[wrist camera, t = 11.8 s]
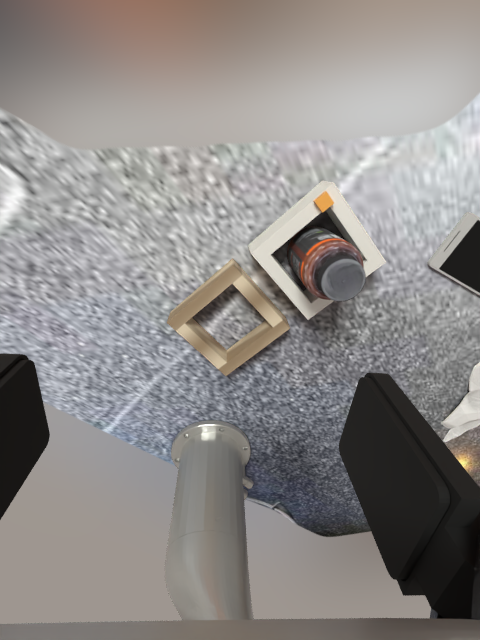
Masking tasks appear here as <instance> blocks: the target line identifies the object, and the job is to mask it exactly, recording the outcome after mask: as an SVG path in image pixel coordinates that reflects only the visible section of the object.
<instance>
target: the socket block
mask: <svg viewBox="0 0 480 640" xmlns="http://www.w3.org/2000/svg"><path fill="white" fill-rule="evenodd" d="M324 211H326V212H327V214H328V215H329V217H330V218H331V220H332V221H333V222H334V224H335V225H336V227H337V228H338V230H339V231H340V232H341V234H342V235H343V237H344V238H345V240H346V241H347V242H349V243H350V244H352V245H353V246H354V247H355V248H356V249H357V250H358V251H359V252H360V254H361V256H362V259H363V264H364V271H365V274H366V277H367V276H368V275H369V274H371V273H372V272H374V271H375V270H376V269H378V268H379V267H380V266H382V265H383V264H384V263H386V261H385V259H384V258H383V256H382V255H381V253H380V252H379V250H378V249H377V247H376V246H375V244H374V243H373V241H372V240H371V238H370V237H369V235H368V234H367V232H366V231H365V229H364V228H363V226H362V225H361V223H360V222H359V220H358V219H357V217H356V215H355V214H354V212H353V211H352V209H351V208H350V206H349V205H348V203H347V202H346V200H345V199H344V197H343V196H342V194H341V193H340V191H339V190H338V188H337V187H336V185H335V184H334V183H333V182H327V181H321V182H320V183H319V184H318V185H317V186H316V187H315V188H313V189H312V190H311V191H310V192H309V193H308V194H306V195H305V196H304V197H303V198H302V199H301V200H300V201H298V202H297V203H296V204H295V205H294V206H293V207H291V208H290V209H289V210H288V211H287V212H286V213H285V214H283V215H282V216H281V217H280V218H279V219H278V220H276V221H275V222H274V223H273V224H272V225H271V226H269V227H268V228H267V229H266V230H265V231H264V232H263V233H261V234H260V235H259V236H258V237H257V238H256V239H254V240H253V241H252V242H251V243H250V244H249V245H248V246H249V249H250V253H251V254H252V256H253V257H254V258H255V259H256V260H257V261H258V262H259V264H260V265H261V266H262V267H263V268H264V269H265V271H266V272H267V273H268V274H269V275H270V276H271V278H272V279H273V280H274V281H275V282H276V283H277V285H278V286H279V287H280V288H281V289H282V290H283V292H284V293H285V294H286V295H287V296H288V297H289V299H290V300H291V301H292V302H293V303H294V304H295V306H296V307H297V308H298V309H299V310H300V311H301V313H302V314H303V315H304V316H305V317H306V318H307V320H309V319H310V318H311V317H313V316H314V315H316V314H317V313H318V312H320V311H321V310H322V309H324V308H325V307H326V306H328V305H329V304H330V303H332V302H333V301H334V300H324V299H321V298H318V297H316V296H314V295H313V294H312V293H311V292H310V291H308V289H305V290H304V291H303V290H302V289H301V288H300V287H299V286H298V284H297V283H296V282H295V281H294V279H293V278H292V277H291V276H290V275H289V273H288V272H287V271H286V270H285V269H284V267H283V266H282V265H281V264H280V263H279V261H278V260H277V259H276V258H275V256H274V255H273V254H272V253H273V252H274V251H276V250H277V249H278V248H279V247H280V246H282V245H283V244H284V243H285V242H286V241H288V240H289V239H290V238H291V237H292V236H294V235H295V234H296V233H297V232H298V231H300V230H301V229H302V228H303V227H304V226H306V225H307V224H308V223H309V222H310V221H312V220H313V219H314V218H315V217H316V216H318V215H319V214H320V213H321V212H322V213H323V212H324Z"/></svg>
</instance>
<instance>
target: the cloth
mask: <svg viewBox="0 0 480 640" xmlns="http://www.w3.org/2000/svg"><path fill="white" fill-rule="evenodd" d="M469 391H470V392H469V393H468V394H466V396H465V397H464V398H463V400H462V401H461V403H460V404H459V405H458V406H457V408H456V409H455V410H454V411H453V412H452V413H451V414H450V415H449V416H448V417H447V418H446V419H445V420H444V421H442V422H441V424H442V425H444V426H445V427H446V428H447V429H448V428H452V429H450V430H449V432H448V434H447V435H446V437H445V438H444V440H443V441H444V442H447V441H449V440H451V439H453V438H455V437H458V436H459V435H461V434H462V433H464V432H465V431H467V430H469V429H472V428H474V427H477V426H478V425H480V362H479V363H478V364H477V365H475V366H474V368H473V370H472V373H471V376H470V378H469Z"/></svg>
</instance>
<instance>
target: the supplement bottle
mask: <svg viewBox="0 0 480 640" xmlns="http://www.w3.org/2000/svg"><path fill="white" fill-rule="evenodd" d="M287 256H288V261H289V263H290V265H291V267H292V269H293V270H294V272H295V273H296V274H297V276H298V277H299V278H300V280H301V281H302V283H303V284H304V285H305V287H306V288H307V289H308V291H310V292H311V293H312V294H313V295H314V296H316V297H318V298H321V299H324V300H334V301H339V302H340V301H346V300H350V299H352V298H353V297H355V296H356V295H357V294H358V293H359V292H360V291H361V290H362V288H363V286H364V284H365V279H366V274H365V271H364V264H363V259H362V256H361V254H360V252H359V251H358V250H357V249H356V248H355V247H354V246H353V245H352V244H350V243H349V242H347V241H345V240H344V239H342V238H340V237H339V236H337V235H335V234H334V233H332V232H330V231H329V230H327V229H325V228H322V227H318V226H312V227H307V228H304V229H302V230H301V231H299V232H298V233H296V234H295V236H294V237H293V238H292V240H291V241H290V244H289V246H288V251H287Z"/></svg>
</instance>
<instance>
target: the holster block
mask: <svg viewBox="0 0 480 640" xmlns="http://www.w3.org/2000/svg"><path fill="white" fill-rule="evenodd" d="M231 284H233V285H234V286H235V287H236V288H237V289H238V290H239V291H240V292H241V293H242V294H243V296H244V297H245V298H246V299H247V300H248V301H249V302H250V303H251V304H252V305H253V306H254V307H255V308H256V310H257V311H258V312H259V313H260V314H261V315H262V316H263V317H264V318H265V319H266V320H265V321H264V322H263V323H261V324H260V325H259V326H258V327H256V328H255V329H254V330H252V331H251V332H250V333H248V334H247V335H246V336H245V337H243V338H242V339H241V340H239V341H238V342H237V343H236V344H234V345H233V346H232V347H230V348H229V349H228V350H226V349H225V348H224V347H223V346H221V345H220V344H219V343H218V342H217V341H216V340H215V339H214V338H213V337H212V336H211V335H210V334H209V333H208V332H207V331H206V330H205V329H204V328H203V327H201V326H200V325H199V324H198V323H197V322H196V321H195V320H194V319H193V318H192V317H193V316H194V315H195V314H197V313H198V312H199V311H200V310H201V309H203V308H204V307H205V306H206V305H207V304H209V303H210V302H211V301H212V300H213V299H214V298H216V297H217V296H218V295H219V294H220V293H222V292H223V291H224V290H225V289H226V288H228V287H229V286H230V285H231ZM167 323H168V324H169V325H170V326H171V327H172V328H173V329H174V330H175V331H177V332H178V333H179V334H180V335H181V336H182V337H183V338H184V339H185V340H187V341H188V342H189V343H190V344H191V345H192V346H193V347H194V348H195V349H196V350H198V351H199V352H200V353H201V354H202V355H203V356H204V357H205V358H206V359H208V360H209V361H210V362H211V363H212V364H213V365H214V366H215V367H216V368H217V369H219V370H220V371H221V372H222V373H223V374H224V375H225V376H227V375H228V374H230V373H231V372H232V371H234V370H235V369H236V368H238V367H239V366H240V365H242V364H243V363H244V362H246V361H247V360H248V359H250V358H251V357H252V356H254V355H255V354H256V353H258V352H259V351H260V350H262V349H263V348H264V347H266V346H267V345H268V344H270V343H271V342H272V341H274V340H275V339H276V338H278V337H279V336H280V335H282V334H283V333H284V332H286V331H287V330H289V329H290V327H289V324H288V322H287V319H286V317H285V316H284V315H283V314H282V313H281V312H280V311H279V309H278V308H277V307H276V306H275V305H274V304H273V303H272V302H271V300H270V299H269V298H268V297H267V296H266V295H265V294H264V293H263V292H262V290H261V289H260V288H259V287H258V286H257V285H256V284H255V283H254V281H253V280H252V279H251V278H250V277H249V276H248V275H247V274H246V273H245V271H244V270H243V269H242V268H241V267H240V266H239V265H238V264H237V262H236V261H235V260H234V259H231V260H230V261H229V262H228V263H227V264H226V265H224V266H223V267H222V268H221V269H220V270H219V271H218V272H216V273H215V274H214V275H213V276H212V277H211V278H209V279H208V280H207V281H206V282H205V283H204V284H202V285H201V286H200V287H199V288H198V289H197V290H196V291H194V292H193V293H192V294H191V295H190V296H189V297H187V298H186V299H185V300H184V301H183V302H182V303H181V304H179V305H178V306H177V307H176V308H175V309H174V310H172V311H171V312H170V315H169V318H168V321H167Z"/></svg>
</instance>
